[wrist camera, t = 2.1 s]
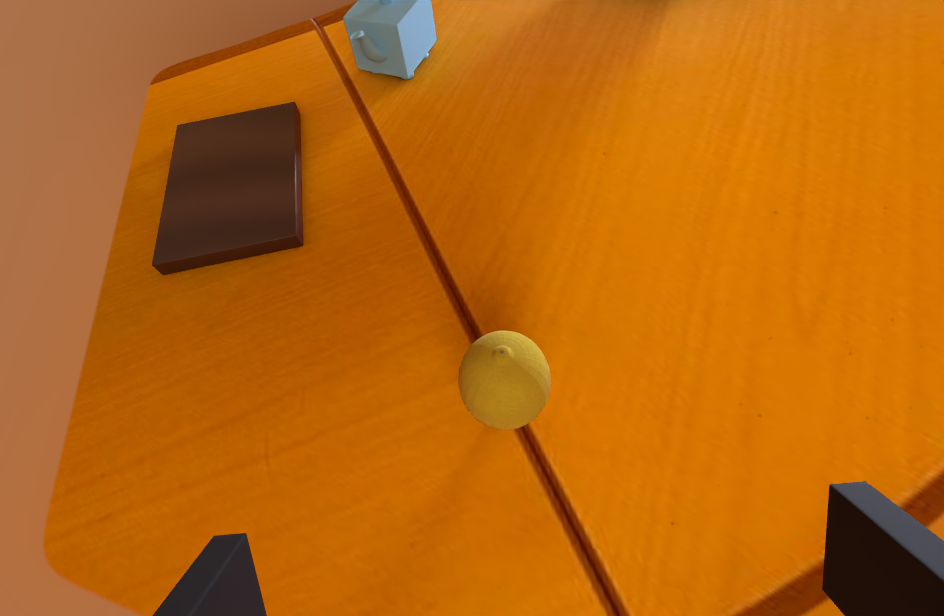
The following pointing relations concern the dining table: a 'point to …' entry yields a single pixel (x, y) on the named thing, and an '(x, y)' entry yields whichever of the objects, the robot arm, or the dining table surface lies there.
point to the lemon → (504, 380)
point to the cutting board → (232, 190)
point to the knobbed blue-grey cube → (391, 35)
